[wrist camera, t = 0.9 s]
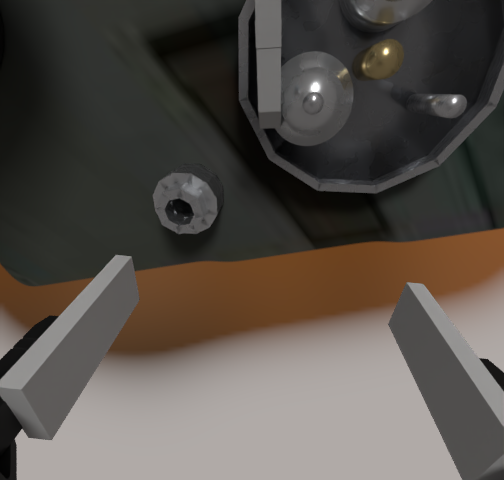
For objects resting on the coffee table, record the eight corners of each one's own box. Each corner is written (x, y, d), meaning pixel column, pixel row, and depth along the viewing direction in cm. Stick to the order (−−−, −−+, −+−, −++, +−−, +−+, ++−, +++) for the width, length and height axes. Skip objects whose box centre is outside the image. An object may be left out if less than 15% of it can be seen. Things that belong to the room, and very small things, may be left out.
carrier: (203, 110, 28) (179, 117, 21) (347, -202, 18) (390, -385, 11) (369, 217, 32) (395, 253, 25) (560, 10, 22) (690, -27, 15)
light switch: (263, 120, 28) (258, 130, 21) (259, -40, 22) (251, -98, 15) (280, 120, 28) (281, 130, 21) (280, -42, 22) (282, -102, 15)
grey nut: (158, 200, 33) (136, 221, 28) (180, 151, 30) (160, 164, 25) (208, 228, 35) (195, 252, 29) (234, 184, 32) (225, 202, 26)
